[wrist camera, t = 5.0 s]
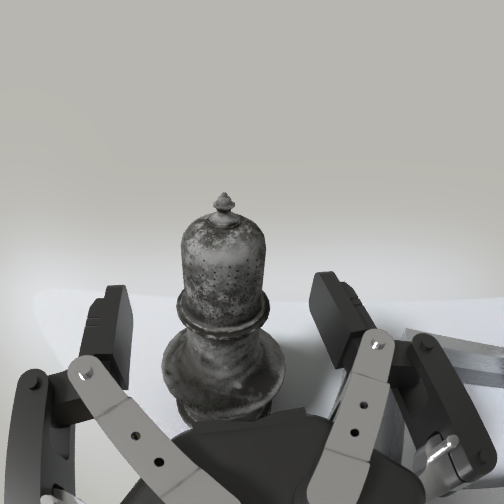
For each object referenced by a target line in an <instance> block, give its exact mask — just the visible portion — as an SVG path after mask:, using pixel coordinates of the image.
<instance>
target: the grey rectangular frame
mask: <svg viewBox="0 0 504 504" xmlns="http://www.w3.org/2000/svg"><path fill="white" fill-rule="evenodd" d="M419 333H426V332H421V331H417V330H412V329H407V328H406V329H405V331H404V333H403V335H402V337H401V339H400V340H399V341H412V339H413V337H414V336H415V335H416V334H419ZM427 334H429V335H432V336H433V337H434V338H436V339H437V341H438V342H439V344H440V345H441V347H442V349H443V350H444V352H445V354H446V355H447V357H448V359H449V360H450V362H451V364H452V366H453V367H454V369H455V371H456V373H457V375H458V376H459V378H460V380H461V382H462V383H467V384H474V385H482V386H490V387H499V388H504V348H503V347H498V346H492V345H487V344H481V343H476V342H471V341H466V340H461V339H456V338H451V337H446V336H441V335H436V334H431V333H427ZM345 374H346V370H345V368H344V373H343V379H344V376H345ZM343 379H342V382H343ZM374 449H376V450H378V451H379V452H381V453H382V454H384V455H386V456H387V457H389V458H391V459H392V460H394V461H396V462H397V463H399V464H401V465H402V466H404V467H406V468H408V469H409V470H411V471H412V472H414V471H413V468H412V467H413V456H414V454H415V452H416V448H415V446H414V443H413V441H412V438H411V436H410V433H409V431H408V428H407V426H406V423H405V421H404V418H403V416H402V414H401V411H400V409H399V407H398V404H397V402H396V399H395V397H394V395H393V393H392V390H391V388H389V393H388V397H387V401H386V405H385V409H384V413H383V417H382V420H381V424H380V427H379V431H378V434H377V438H376V441H375V444H374ZM425 504H504V487H497V488H484V489H461V490H459V491H457V492H455V493H453V494H451V495H450V496H448V497H443V498H442V497H437V498H435V499H433V500H430V501H428V502H426V503H425Z"/></svg>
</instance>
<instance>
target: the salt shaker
mask: <svg viewBox="0 0 504 504" xmlns="http://www.w3.org/2000/svg"><path fill="white" fill-rule="evenodd" d="M213 206H214V207H215V208H216V209H217V212H214V213H212V214H208V215H205V216H203V217H200V218H198V219H196V220H195V221H194V222H192V223H191V224H190V226H189V227H188V228H187V229H186V231H185V232H184V234H183V237H182V242H181V255H182V267H183V279H184V290H182V292H181V294H180V295H179V297H178V300H177V305H176V308H177V313H178V317H179V318H180V320H181V322H182V323H183V325H185V326H186V327H187V328H185V329H184V330H182V331H180V332H179V333H178V334H177V335H176V336H175V337H174V338H173V339H172V340H171V341H170V342H169V344H168V346H167V348H166V350H165V352H164V354H163V359H162V365H161V367H162V373H163V379H164V382H165V383H166V385H167V387H168V389H169V391H170V393H171V394H172V395H173V396H174V397H175V398H176V402H177V406H178V411H179V413H180V415H181V417H182V419H183V421H184V422H185V423H186V424H187V425H188V426H189V427H190V428H191V429H192V422H194V421H207V420H219V419H221V420H230V421H239V422H254V421H256V420H259V419H261V418H264V417H266V416H268V415H269V413H270V409H271V405H272V398H273V397H275V396H276V394H277V392H278V391H279V389H280V387H281V386H282V384H283V381H284V376H285V371H286V366H285V358H284V355H283V353H282V350H281V348H280V346H279V344H278V343H277V342H276V341H275V340H274V339H273V338H272V337H271V335H270V334H268V333H267V332H265V331H264V330H262V329H261V328H260V327H262V326H263V324H264V323H265V321H266V320H267V319H268V315H269V312H270V304H269V300H268V298H267V296H266V294H265V292H264V291H263V290H262V284H263V275H264V264H265V255H266V244H265V239H264V234H263V233H262V231H261V230H260V228H259V227H258V226H257V225H256V224H255V223H254V222H253V221H252V220H249V219H247V218H245V217H243V216H241V215H238V214H235V213H233V212H231V209H232V208H234V207H235V203H234V202H232V201H231V198H230V197H229V196H227V193H222V194H221V196H219V197H218V199H217V201H216V202H214V203H213Z"/></svg>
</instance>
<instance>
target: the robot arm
mask: <svg viewBox="0 0 504 504" xmlns="http://www.w3.org/2000/svg"><path fill="white" fill-rule="evenodd" d="M309 309H310V312H311V315H312V317H313V319H314V321H315V324H316V326H317V328H318V330H319V333H320V335H321V337H322V340H323V342H324V344H325V346H326V349H327V351H328V353H329V356H330V358H331V360H332V363H333V365H334V367H335V369H340V368H345V370H346V374H345V376H344V379H343V382H342V384H341V387H340V390H339V392H338V395H337V398H336V400H335V403H334V405H333V408H332V410H331V412H330V414H329V416H328V419H326V418H323V417H320V416H316V415H310V414H306V412H305V409H304V407H303V408H297V409H292V410H286V411H280V412H276V413H274V414H271V415H269V416H266V417H264V418H261V419H259V420H256V421H254V422H239V421H230V420H221V419H219V420H207V421H194V422H192V429H190V430H187V431H185V432H182V433H180V434H179V435H177V436H175V437H174V438H173V439H171V440H170V439H169V438H168V437H167V436H166V435H165V434H164V433H163V432H162V431H161V430H160V429H159V427H158V426H157V425H156V424H155V423H154V422H153V421H152V420H151V419H150V418H149V417H148V415H147V414H146V413H145V412H144V411H143V410H142V409H141V407H140V406H139V405H138V404H137V403H136V402H135V401H134V400H133V399H132V398H131V397H128V396H127V395H126V394H125V392H124V391H123V390H128V386H129V369H130V355H131V343H132V332H133V314H132V309H131V305H130V301H129V297H128V293H127V289H126V286H125V285H112V286H107V288H106V292H105V297H104V298H97V299H96V300H95V301H94V303H93V304H92V305H91V306H90V308H89V312H88V317H87V318H88V319H87V321H86V327H85V329H84V334H83V338H82V343H81V347H80V352H79V356H78V358H76V359H75V360H73V361H72V362H71V364H70V365H69V367H68V369H67V370H65V371H63V372H60V373H56V374H52V375H49V376H47V375H46V374H45V372H44V371H42V370H40V369H30V370H28V371H26V372H25V373H23V374H22V375H21V377H20V378H19V381H18V384H17V388H16V393H15V399H14V404H13V410H12V416H11V423H10V431H9V438H8V448H7V457H6V458H7V459H6V470H5V493H4V504H85V503H84V502H83V501H82V500H80V499H78V498H77V497H75V462H74V461H75V459H74V458H75V424H76V423H80V422H84V421H87V420H90V419H94V418H95V420H96V421H97V423H98V424H99V426H100V427H101V428H102V430H103V431H104V432H105V434H106V435H107V436H108V438H109V439H110V440H111V442H112V443H113V444H114V446H115V447H116V448H117V449H118V451H119V452H120V453H121V454H122V456H123V457H124V458H125V459H126V460H127V462H128V463H129V464H130V465H131V466H132V468H133V469H134V470H135V471H136V472H137V473H138V475H139V476H140V477H141V478H140V479H139V480H138V482H137V483H136V484H135V486H134V487H133V488H132V489H131V491H130V492H129V493H128V494H127V496H126V497H125V498H124V500H123V501H122V502H121V503H120V504H425V503H426V502H428V501H430V500H433V499H435V498H437V497H442V498H443V497H448V496H450V495H451V494H453V493H455V492H457V491H459V490H461V489H462V488H464V487H466V486H468V485H469V484H471V483H473V482H475V481H476V480H478V479H480V478H481V477H483V476H484V475H486V474H488V473H489V472H491V471H492V470H493V469H494V467H495V465H496V463H497V453H496V450H495V447H494V445H493V443H492V441H491V439H490V437H489V435H488V432H487V430H486V428H485V426H484V424H483V422H482V420H481V418H480V416H479V414H478V412H477V410H476V408H475V406H474V404H473V402H472V400H471V398H470V397H469V395H468V393H467V391H466V389H465V387H464V385H463V384H462V382H461V380H460V378H459V376H458V375H457V373H456V371H455V369H454V367H453V366H452V364H451V362H450V360H449V359H448V357H447V355H446V354H445V352H444V350H443V349H442V347H441V345H440V344H439V342H438V341H437V339H436V338H434V337H433V336H432V335H429V334H427V333H419V334H416V335H415V336H414V337H413V339H412V341H399V340H394V339H393V338H392V336H391V335H390V334H388V333H387V332H385V331H383V330H380V329H377V328H376V326H375V324H374V322H373V321H372V319H371V317H370V316H369V314H368V312H367V311H366V309H365V307H364V306H363V305H362V302H361V301H360V299H358V296H357V294H356V293H355V291H354V289H353V288H352V287H350V286H349V285H348V284H347V283H345V282H340V281H339V280H338V278H337V277H336V275H335V273H334V272H332V271H329V272H318V273H316V274H315V275H314V279H313V284H312V288H311V293H310V298H309ZM389 388H391V390H392V393H393V395H394V397H395V399H396V402H397V404H398V407H399V409H400V411H401V414H402V416H403V418H404V421H405V423H406V426H407V428H408V431H409V433H410V436H411V438H412V441H413V443H414V446H415V448H416V452H415V454H414V456H413V467H412V468H413V471H414V472H412V471H411V470H409V469H408V468H406V467H404V466H402V465H401V464H399V463H397V462H396V461H394V460H392V459H391V458H389V457H387V456H386V455H384V454H382V453H381V452H379V451H378V450H376V449H374V444H375V441H376V438H377V434H378V431H379V427H380V424H381V420H382V417H383V413H384V409H385V405H386V401H387V397H388V393H389Z"/></svg>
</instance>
